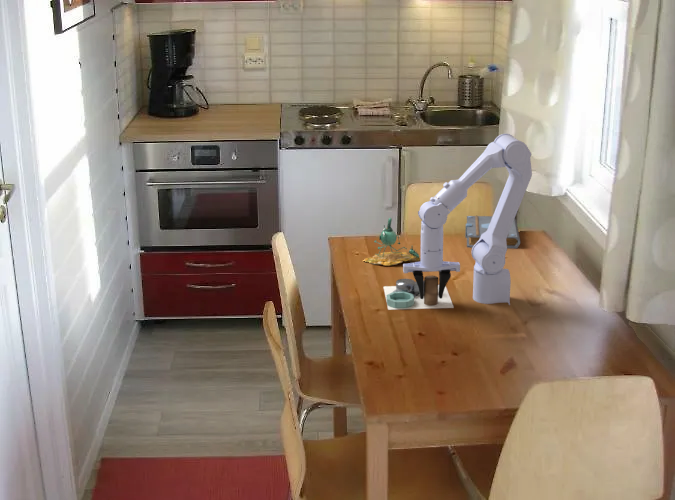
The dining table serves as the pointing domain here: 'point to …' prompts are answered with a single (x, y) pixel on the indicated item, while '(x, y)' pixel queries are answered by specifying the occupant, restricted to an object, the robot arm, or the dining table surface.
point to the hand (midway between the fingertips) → (431, 297)
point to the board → (418, 302)
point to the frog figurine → (389, 258)
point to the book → (481, 224)
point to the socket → (400, 299)
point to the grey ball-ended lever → (407, 286)
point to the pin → (431, 290)
